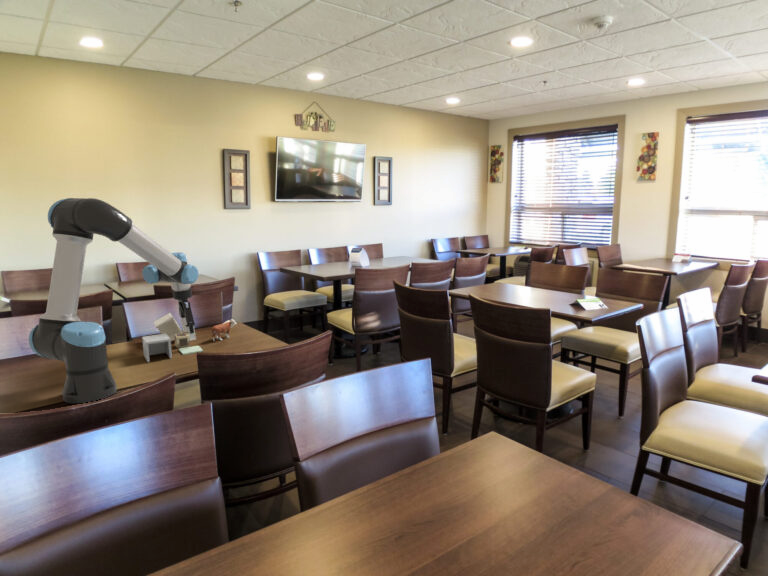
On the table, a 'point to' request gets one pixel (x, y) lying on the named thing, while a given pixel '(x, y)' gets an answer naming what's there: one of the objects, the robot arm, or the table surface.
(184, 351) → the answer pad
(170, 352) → the grey hood
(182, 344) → the letter cube
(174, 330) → the cream hood
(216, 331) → the bull figurine
